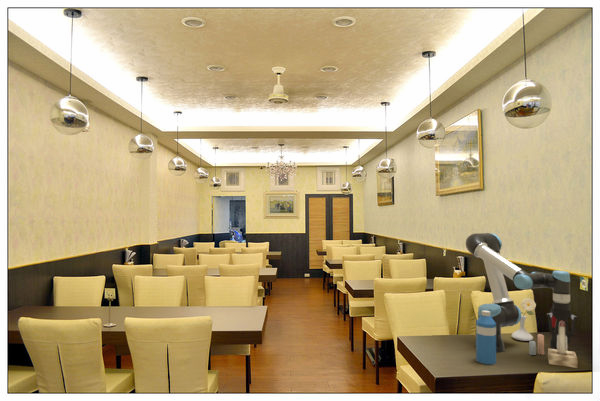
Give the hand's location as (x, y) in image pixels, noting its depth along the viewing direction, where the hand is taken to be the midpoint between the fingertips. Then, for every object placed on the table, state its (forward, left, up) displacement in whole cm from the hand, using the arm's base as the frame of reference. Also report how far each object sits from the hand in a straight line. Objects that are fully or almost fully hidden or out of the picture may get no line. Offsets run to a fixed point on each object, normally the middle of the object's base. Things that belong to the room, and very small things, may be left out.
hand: (562, 348), depth 219 cm
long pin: (0, 0, -5) cm, 5 cm away
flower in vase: (-17, +35, -7) cm, 40 cm away
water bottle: (-34, -17, -7) cm, 39 cm away
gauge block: (0, 0, -7) cm, 7 cm away
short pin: (-13, +6, -7) cm, 16 cm away
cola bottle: (0, +21, -7) cm, 22 cm away
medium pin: (-9, +10, -7) cm, 15 cm away
